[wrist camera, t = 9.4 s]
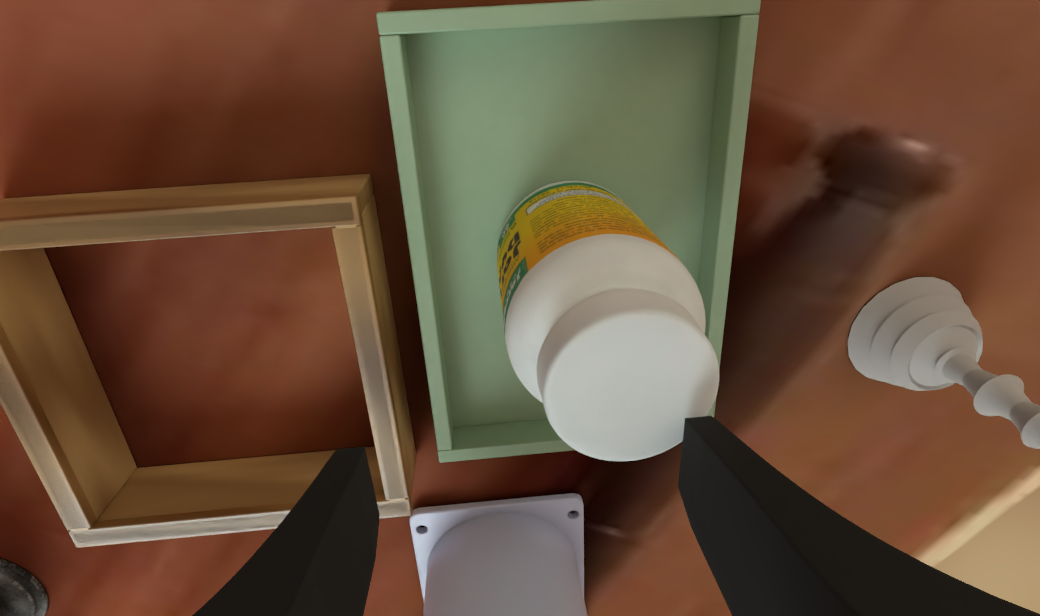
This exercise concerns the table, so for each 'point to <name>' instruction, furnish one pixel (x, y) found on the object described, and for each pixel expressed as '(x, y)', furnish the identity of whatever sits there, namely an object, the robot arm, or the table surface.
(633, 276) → the supplement bottle
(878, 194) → the table surface
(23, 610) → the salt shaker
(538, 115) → the tray
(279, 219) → the brown wooden square frame
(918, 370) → the chalice
